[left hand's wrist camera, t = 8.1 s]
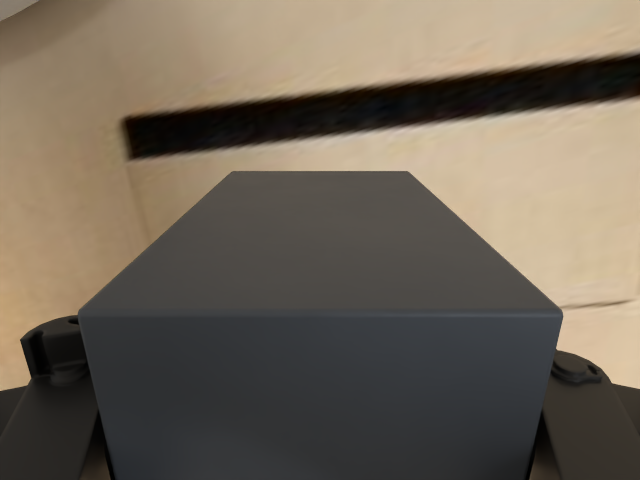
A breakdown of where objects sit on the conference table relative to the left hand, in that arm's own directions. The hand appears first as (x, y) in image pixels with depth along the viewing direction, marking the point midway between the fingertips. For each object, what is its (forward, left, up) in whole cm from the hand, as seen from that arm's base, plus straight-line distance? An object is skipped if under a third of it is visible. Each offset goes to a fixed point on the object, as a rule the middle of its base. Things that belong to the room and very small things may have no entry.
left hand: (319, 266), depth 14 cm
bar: (+7, +4, -1) cm, 8 cm away
